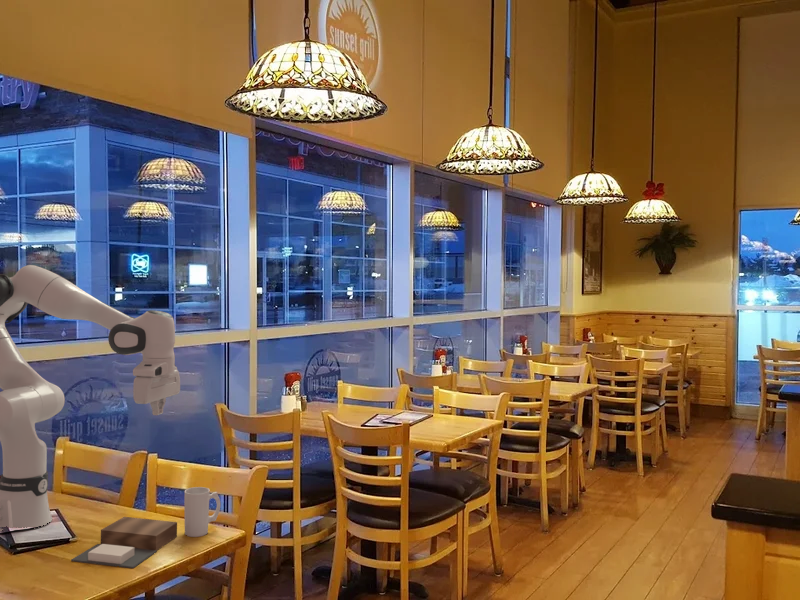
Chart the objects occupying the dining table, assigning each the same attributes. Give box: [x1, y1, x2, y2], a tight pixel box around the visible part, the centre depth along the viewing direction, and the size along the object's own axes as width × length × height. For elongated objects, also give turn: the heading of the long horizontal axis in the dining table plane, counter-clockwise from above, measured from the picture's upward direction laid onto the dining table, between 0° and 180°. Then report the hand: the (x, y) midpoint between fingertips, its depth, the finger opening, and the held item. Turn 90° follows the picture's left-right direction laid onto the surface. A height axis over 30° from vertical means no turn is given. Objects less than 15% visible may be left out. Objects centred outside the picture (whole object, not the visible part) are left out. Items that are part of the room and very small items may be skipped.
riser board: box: [100, 516, 178, 551], centre depth 199 cm, size 16×11×4 cm
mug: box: [183, 486, 221, 538], centre depth 206 cm, size 10×7×12 cm, turn 119°
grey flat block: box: [88, 543, 134, 564], centre depth 185 cm, size 9×6×2 cm, turn 79°
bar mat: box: [70, 543, 158, 569], centre depth 187 cm, size 17×11×1 cm, turn 79°
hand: (157, 414), depth 213 cm, fingers closed
